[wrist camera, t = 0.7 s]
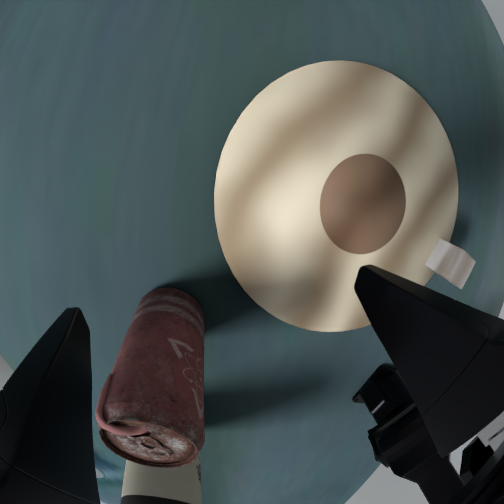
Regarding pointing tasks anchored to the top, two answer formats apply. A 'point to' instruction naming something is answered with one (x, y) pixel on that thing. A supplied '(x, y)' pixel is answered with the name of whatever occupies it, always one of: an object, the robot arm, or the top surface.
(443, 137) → the turntable
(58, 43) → the top surface
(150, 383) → the can
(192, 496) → the travel mug
